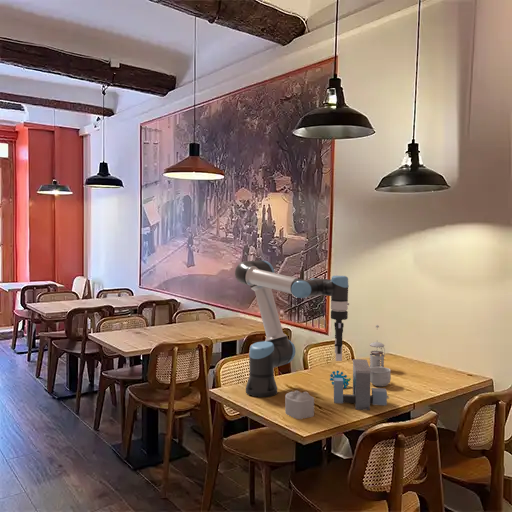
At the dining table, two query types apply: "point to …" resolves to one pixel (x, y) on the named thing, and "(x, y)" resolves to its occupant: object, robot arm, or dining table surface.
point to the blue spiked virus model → (345, 381)
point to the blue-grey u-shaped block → (376, 398)
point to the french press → (377, 355)
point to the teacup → (380, 376)
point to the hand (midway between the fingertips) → (338, 357)
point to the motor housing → (361, 384)
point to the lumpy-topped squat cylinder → (299, 405)
